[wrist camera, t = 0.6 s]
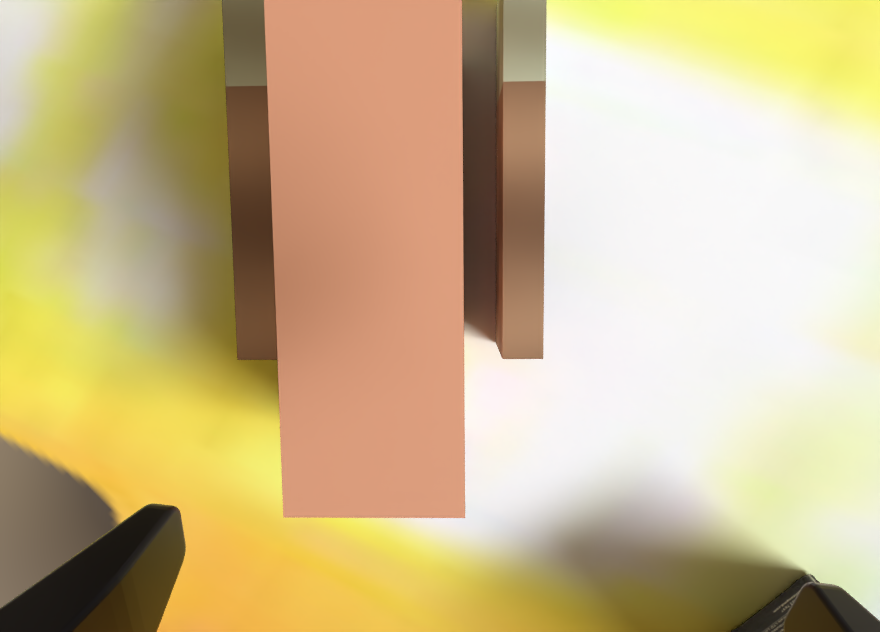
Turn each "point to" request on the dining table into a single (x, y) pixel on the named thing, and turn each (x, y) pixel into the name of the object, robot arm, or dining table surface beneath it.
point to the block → (368, 255)
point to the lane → (514, 177)
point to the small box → (775, 610)
